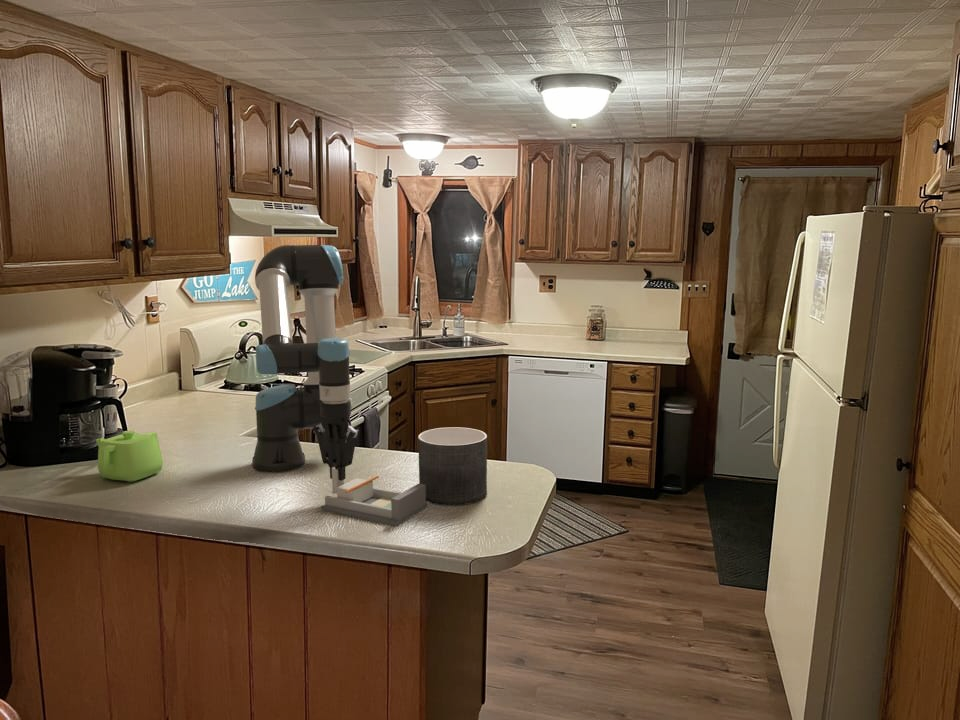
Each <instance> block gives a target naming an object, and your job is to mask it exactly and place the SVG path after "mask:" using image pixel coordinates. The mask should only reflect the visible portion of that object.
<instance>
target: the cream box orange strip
mask: <svg viewBox="0 0 960 720" xmlns="http://www.w3.org/2000/svg"><path fill="white" fill-rule="evenodd" d="M377 479H379V475H376V476H373V477H371V478H369V479H363V478H358V477H357V478H356V477H355V478H354V479H352V480H350V481H348V482H346V483H344V484H343V485H341V486H339V487H337V494H336V495H337V496H336V497H337V498H342V499H347V500H352V501H357V502H363V501H365V500H367V499H369V498H371V497H372V496H373V487H374V481H375V480H377Z"/></svg>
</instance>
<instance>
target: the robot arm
mask: <svg viewBox="0 0 960 720" xmlns="http://www.w3.org/2000/svg"><path fill="white" fill-rule="evenodd" d="M254 283H255V287H256V289H258V291H259V302H260V303H259V304H260V320H261V334H262V335H261V336H262V344H258V345H257V346H255V362H256V372H257V373H258V374H260V375H279V374H294V373H295V374H296V373H297V374H298V373H307V378H306V380H305V381H304V382H303V383H302V384H303V385H302V386H303V389H298V388H297V386H296V385H294V384H283V385H282V384H281V385H274V386H271V387H267V388H264V389H261V390H260V391H259V392H257V394H256V396H255V407H254V410H255V413H256V415H255V416H256V437H257V439H256V440H257V441H256V446H255V449H254V453H253V456H252V459H251V463H252V469H253V470H255V471H258V472H260V473H285V472H289V471H294V470H298V469H300V468H302V467H303V466H305V464H306V454H305V452H303V447H302V445H301V443H300V439H299V430H307V429H313V431H314V433H315V436H316V438H317V443H318V447H319V451H320V455H321V456H320V457H321V460H322V463H323V464H324V465H325V464H326V465H328V467H329V477H330V480H331V483H332V494H336V495H337V487H339V486H341V485H343V484H345V483H344V482H345V481H344V480H346V467H349V466H351V465H352V464H353V460H354V456H355V455H354V453H355V448H356V442H357V438H358V436H359V435H360V430H359V429H355V428H354V427H353V426H352V422H351V419H350V417H351V415H352V411H351V410H352V409H351V407H352V404H351V401H350V400H351V399H352V397H351V382H350V381H351V380H350V355H351V353H350V349H349V347H350V346H349V341H348V340H347V339H345V338H339V337H337V335H336V317H335V314H336V313H335V295H336V294H337V293H338V292H339V286H340V285H343V283H344V270H343V264H342V259H341V255H340V252H339V250H338V249H337V247H335V246H334V245H330V244H327V245H326V244H303V245H301V244H299V245H297V244H295V245H294V244H293V245H292V244H291V245H290V244H284V245H279V246H277V247H275V248H273V249H271V250H270V251H268V252H267V253H266V254H265V255H264V256H263V257H262V258H261V260H260V261H259V263H258V265H257V267H256V269H255V274H254ZM290 286H297V287H298V293H300V294H301V295H302V296H303V298H304V315H305V318H304V320H305V336H306V337H305V339H306V342H303V343H301V342H300V343H293V333H292V322H291V315H290V313H291V312H290V302H289V292H288V289H289V288H290Z"/></svg>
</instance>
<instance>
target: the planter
mask: <svg viewBox="0 0 960 720" xmlns="http://www.w3.org/2000/svg"><path fill="white" fill-rule="evenodd" d="M417 440H418V442H417V443H418V477H419V478H418V479H419V481H418V482H419V483H418V484H424V485H426V503H431V504H434V505H440V506H464V505H469V504H474V503H477V502H480V501H482V500H483V499H485V498H486V496H487V495H488V486H487V485H488V484H487V483H488V481H487V479H488V474H487V473H488V434H487V433H486V432H484V431H482V430H479V429H475V428H470V427H455V426H454V427H453V426H452V427H438V428H437V427H436V428H433V429H428V430H424V431H423V432H421V433H420V434H418V437H417Z"/></svg>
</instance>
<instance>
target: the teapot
mask: <svg viewBox="0 0 960 720" xmlns="http://www.w3.org/2000/svg"><path fill="white" fill-rule="evenodd" d="M95 441H96V444H97V446H98V449H97V451H98V452H97V470H98V473H99V474H100V476H101V477H102V478H104V479H109V480H112V481H113V480H114V481H123V482H127V483H134V482H136V481H138V480H142V479H144V478H145V479H146V478H147V477H149V476H152V475H155V474H158V473H159V472H161V470H162V468H163V465H164V463H163V462H164V461H163V460H164V459H163V455H162V450H161V448H160V443H159V437H158V433H157V431H155V432H154V431H150V432H146V433H136V432H135V431H134V430H125V431H123V432H121V434H118V435H114V436H111V437H109V438H105V437H101V438H96V439H95Z"/></svg>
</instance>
